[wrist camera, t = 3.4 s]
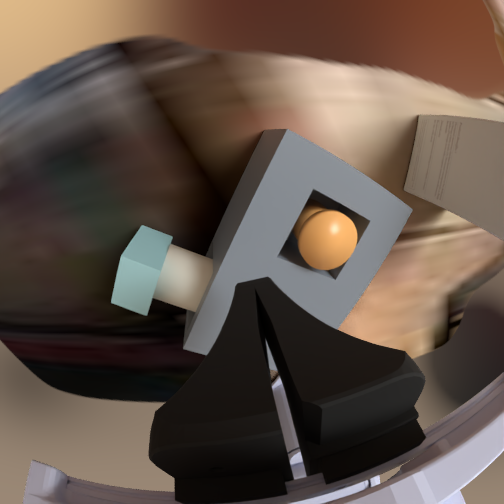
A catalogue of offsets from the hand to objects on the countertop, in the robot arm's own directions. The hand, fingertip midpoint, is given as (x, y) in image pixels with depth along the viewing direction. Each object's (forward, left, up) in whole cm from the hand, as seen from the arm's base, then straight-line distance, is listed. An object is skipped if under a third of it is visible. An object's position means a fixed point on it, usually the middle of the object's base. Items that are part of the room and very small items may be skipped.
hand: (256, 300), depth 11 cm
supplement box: (-14, -13, -10) cm, 21 cm away
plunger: (-3, -3, -7) cm, 8 cm away
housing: (-3, 0, -10) cm, 10 cm away
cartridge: (0, +4, -9) cm, 10 cm away
